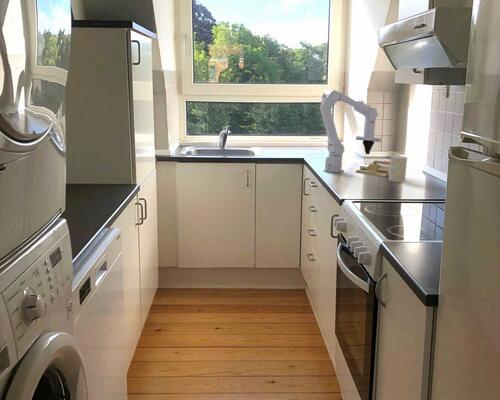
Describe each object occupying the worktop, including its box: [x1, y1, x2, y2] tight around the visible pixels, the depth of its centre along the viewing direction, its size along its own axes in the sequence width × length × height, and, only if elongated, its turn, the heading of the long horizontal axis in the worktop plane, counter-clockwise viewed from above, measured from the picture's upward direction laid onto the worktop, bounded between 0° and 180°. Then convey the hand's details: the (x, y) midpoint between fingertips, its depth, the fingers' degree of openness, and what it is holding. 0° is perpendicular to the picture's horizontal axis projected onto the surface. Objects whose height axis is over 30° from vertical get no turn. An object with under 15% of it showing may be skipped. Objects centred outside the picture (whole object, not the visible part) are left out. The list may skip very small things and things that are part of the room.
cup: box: [388, 155, 408, 183], centre depth 285 cm, size 8×8×12 cm
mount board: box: [355, 168, 389, 177], centre depth 306 cm, size 10×17×1 cm, turn 53°
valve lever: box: [372, 160, 390, 166], centre depth 301 cm, size 12×2×2 cm, turn 49°
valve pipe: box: [359, 162, 390, 173], centre depth 305 cm, size 4×16×4 cm, turn 53°
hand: (367, 154), depth 312 cm, fingers closed
